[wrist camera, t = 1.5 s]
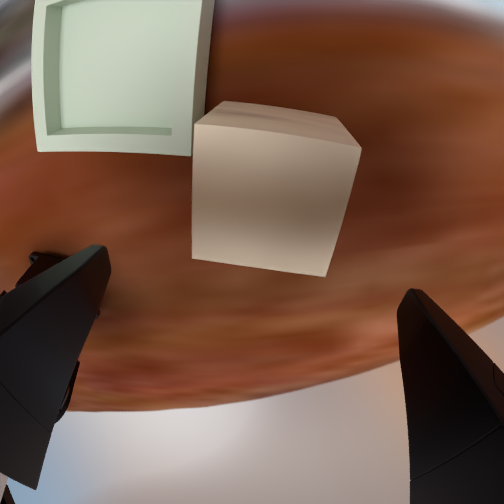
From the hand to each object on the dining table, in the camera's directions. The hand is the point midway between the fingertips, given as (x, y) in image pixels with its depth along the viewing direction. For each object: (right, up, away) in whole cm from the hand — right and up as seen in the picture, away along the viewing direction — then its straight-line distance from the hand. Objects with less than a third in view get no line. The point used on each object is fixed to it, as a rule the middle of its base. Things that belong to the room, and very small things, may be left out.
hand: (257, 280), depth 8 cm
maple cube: (+1, +6, +8) cm, 10 cm away
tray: (-7, +15, +2) cm, 17 cm away
